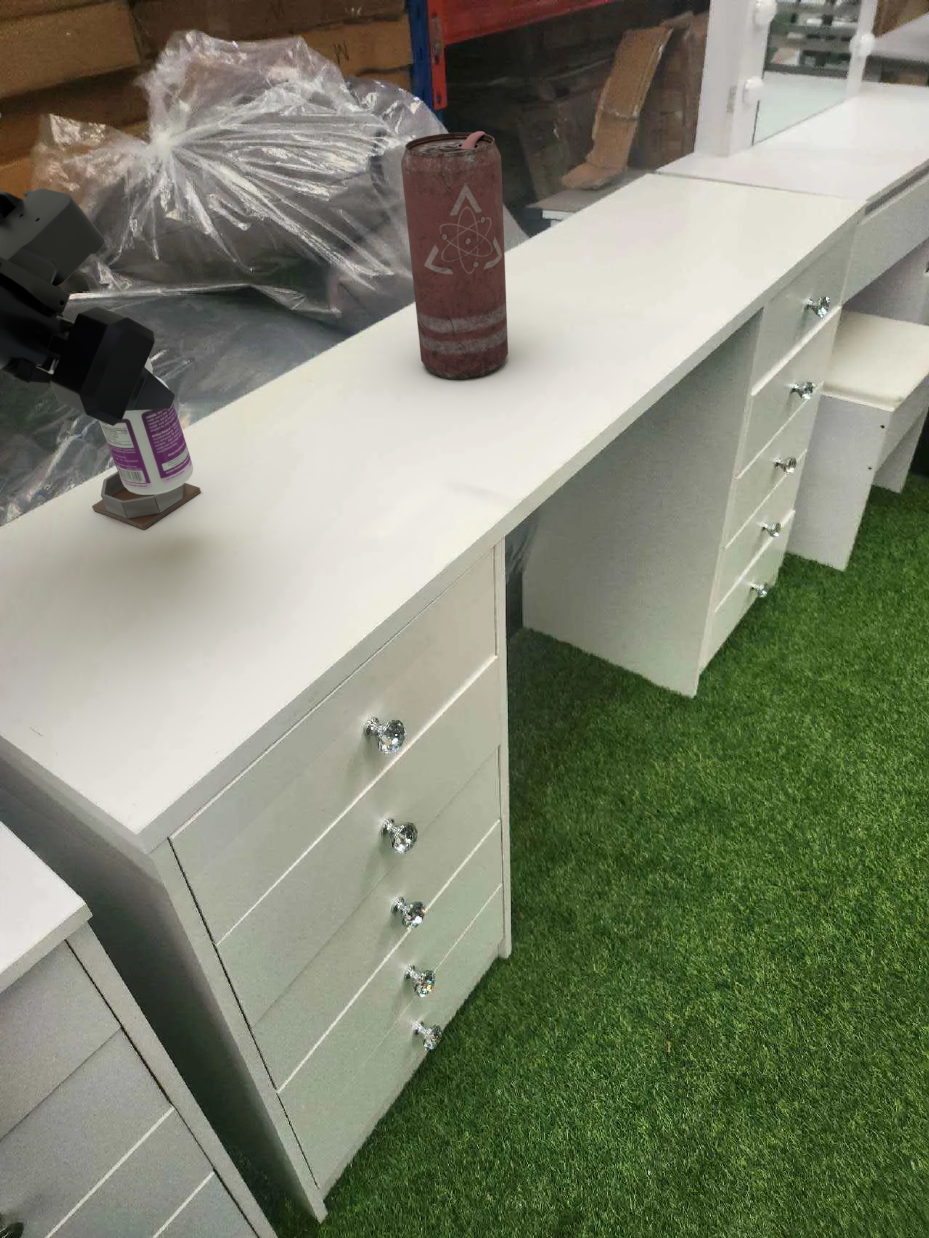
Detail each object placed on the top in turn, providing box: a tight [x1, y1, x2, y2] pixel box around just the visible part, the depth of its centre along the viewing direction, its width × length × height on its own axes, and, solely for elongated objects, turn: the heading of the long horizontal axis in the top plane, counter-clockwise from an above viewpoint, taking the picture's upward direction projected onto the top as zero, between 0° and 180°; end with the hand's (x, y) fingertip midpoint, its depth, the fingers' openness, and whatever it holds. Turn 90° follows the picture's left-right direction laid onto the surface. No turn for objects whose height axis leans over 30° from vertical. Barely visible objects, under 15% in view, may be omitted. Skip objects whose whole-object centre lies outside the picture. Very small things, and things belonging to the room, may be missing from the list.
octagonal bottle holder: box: [91, 470, 202, 530], centre depth 76 cm, size 7×7×2 cm
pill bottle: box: [98, 356, 194, 495], centre depth 63 cm, size 5×5×10 cm
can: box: [400, 130, 509, 380], centre depth 88 cm, size 9×10×22 cm
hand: (149, 392), depth 63 cm, fingers closed on pill bottle, 5 cm apart
